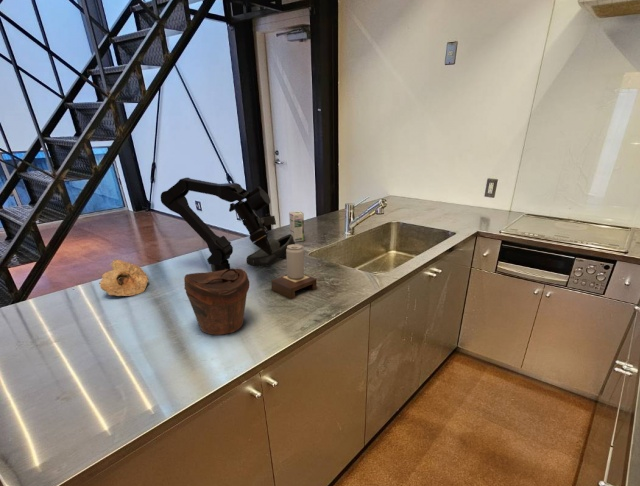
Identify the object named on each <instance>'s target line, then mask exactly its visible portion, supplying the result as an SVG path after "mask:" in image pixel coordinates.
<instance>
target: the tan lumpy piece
mask: <svg viewBox="0 0 640 486" xmlns="http://www.w3.org/2000/svg"><path fill="white" fill-rule="evenodd" d="M110 266H111V268H112V270H109V271H106V272H105V273H103V274H102V276H101V277H102V279H101V280H100V281H99V283H98V284H99V287H100V289H101V290H102V291H104V292H106V293H107V295H109V297H111V296H117V297H121V296H123V297H124V296H125V297H129V296H136V295H140V294H142V293H144V291H145V290H146V288H147V286H148V282H149V280H150V279H149V277H148V275H147V273H145V271H144V270H143V268H142V267H140V266H138V265H137V264H133V263H131V262H127V261H124V260H121V259H116V258H115V259H114V260H113V261H112V262H111V263H110Z"/></svg>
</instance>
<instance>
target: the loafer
mask: <svg viewBox="0 0 640 486" xmlns="http://www.w3.org/2000/svg"><path fill="white" fill-rule="evenodd" d="M268 242H269V244H270V247H271V250H272V255H268V254H267V253H266V252H264V251H263V250H262V249H260V248H259V249H258V250H256V251H254V252H253V253H250V254H249V255H247V257H246V264H247V265H248V266H250V267H251V266H252V267H261V268H262V267H268V266H272V265H274V263H276V262H277V261H278V260H279V259H280V260H281V259H287V258H286V249H287V246H288V245H292V244H296V242H294V239H293V236H292V235H291V234H290V233H289V234H287V235H284V236H282V237H280V238H278V239H275V238H274V237H270V238H269V239H268Z"/></svg>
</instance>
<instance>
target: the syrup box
mask: <svg viewBox="0 0 640 486" xmlns="http://www.w3.org/2000/svg"><path fill="white" fill-rule="evenodd" d="M304 215H305V214H304V212H303V211H300V210H298V211H289V212H288V216H289V234H291V235H292V236H293V239H294V243H296V242H304V241H305V218H304Z"/></svg>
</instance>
